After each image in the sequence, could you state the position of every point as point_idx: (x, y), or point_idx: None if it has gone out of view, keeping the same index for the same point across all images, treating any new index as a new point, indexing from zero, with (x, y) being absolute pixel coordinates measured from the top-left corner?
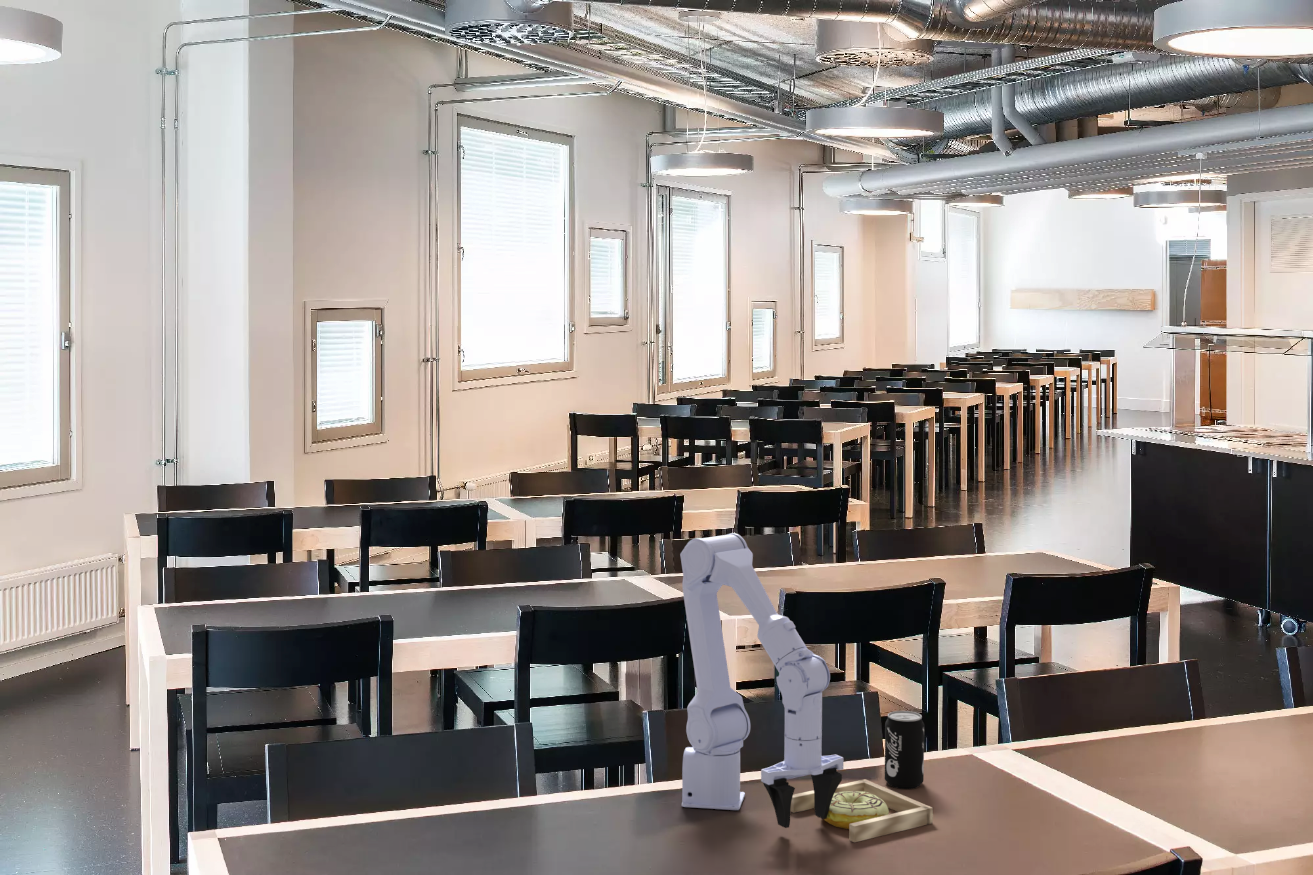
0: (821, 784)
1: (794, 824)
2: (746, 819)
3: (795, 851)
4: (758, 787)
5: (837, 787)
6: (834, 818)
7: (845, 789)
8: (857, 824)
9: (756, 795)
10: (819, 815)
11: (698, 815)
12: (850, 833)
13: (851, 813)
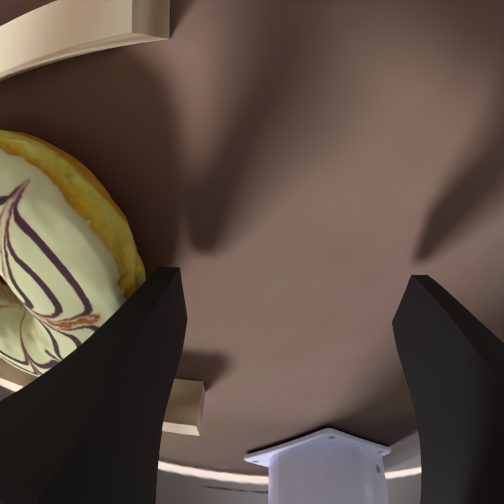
0: (128, 464)
1: (272, 325)
2: (359, 395)
3: (500, 105)
4: (190, 456)
5: None
6: (125, 238)
7: (18, 376)
8: (90, 4)
9: (219, 447)
10: (181, 301)
11: (407, 425)
12: (156, 25)
13: (33, 177)
